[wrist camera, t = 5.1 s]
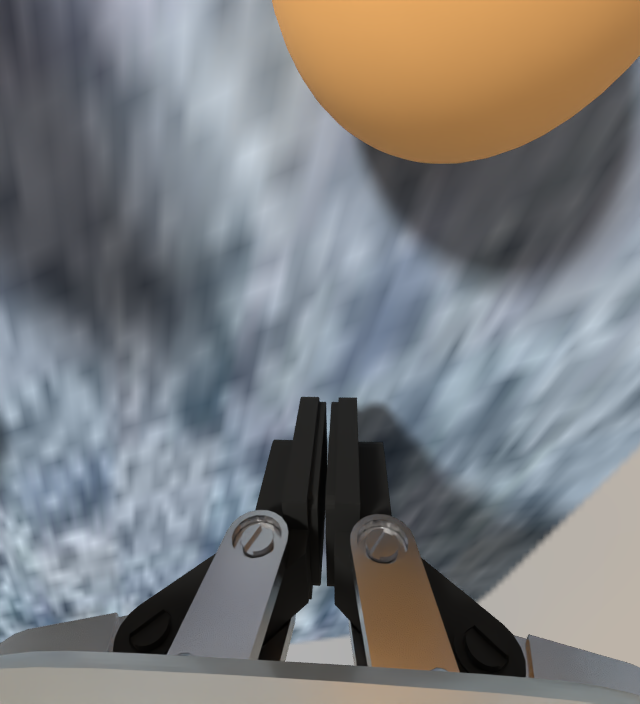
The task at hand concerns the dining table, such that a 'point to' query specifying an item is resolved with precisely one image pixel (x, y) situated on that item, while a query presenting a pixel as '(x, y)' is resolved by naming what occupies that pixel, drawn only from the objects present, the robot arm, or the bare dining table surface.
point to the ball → (457, 68)
